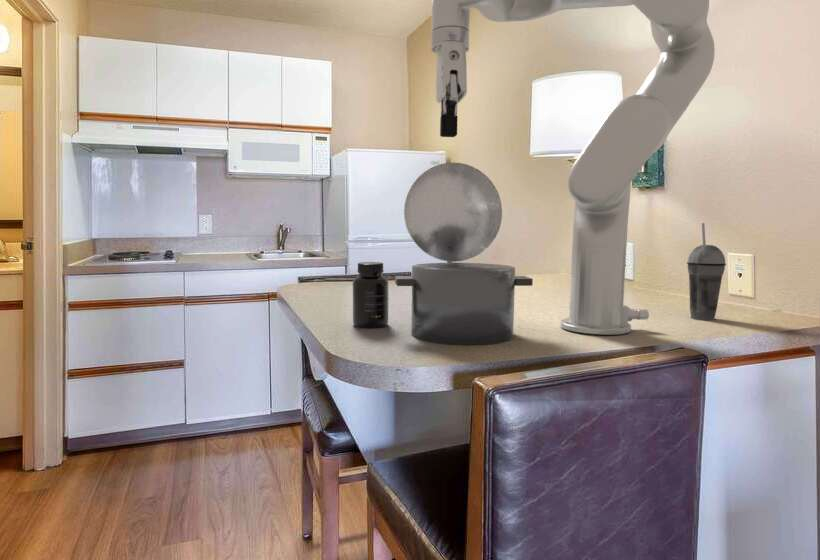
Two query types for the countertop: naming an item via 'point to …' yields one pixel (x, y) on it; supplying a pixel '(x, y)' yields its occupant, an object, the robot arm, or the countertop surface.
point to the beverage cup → (705, 279)
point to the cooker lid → (453, 212)
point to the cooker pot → (463, 302)
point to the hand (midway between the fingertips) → (448, 136)
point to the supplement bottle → (370, 296)
